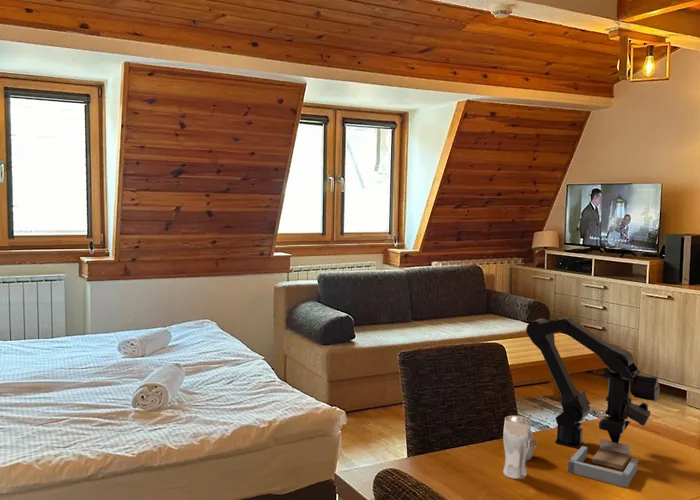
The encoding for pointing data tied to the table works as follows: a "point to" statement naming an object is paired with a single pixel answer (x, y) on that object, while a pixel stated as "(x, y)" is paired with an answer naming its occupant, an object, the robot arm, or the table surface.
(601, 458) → the l-shaped bracket
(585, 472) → the bay
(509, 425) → the beer glass
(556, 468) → the table surface
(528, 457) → the cupcake
